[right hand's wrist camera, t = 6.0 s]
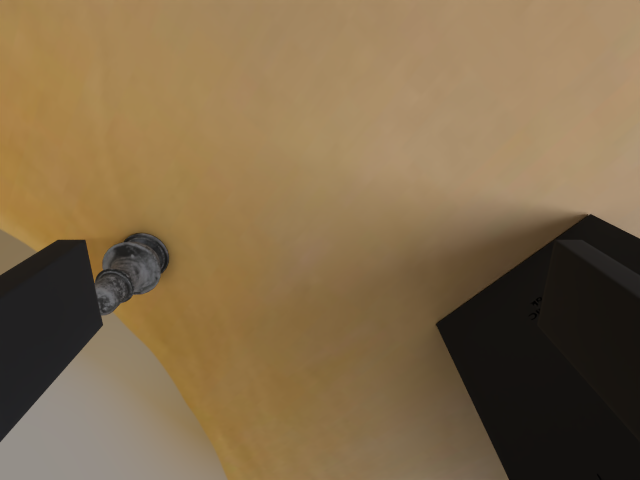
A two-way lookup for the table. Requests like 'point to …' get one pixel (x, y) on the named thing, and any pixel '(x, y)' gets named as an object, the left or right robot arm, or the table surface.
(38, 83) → the table surface
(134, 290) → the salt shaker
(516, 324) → the cardboard box
